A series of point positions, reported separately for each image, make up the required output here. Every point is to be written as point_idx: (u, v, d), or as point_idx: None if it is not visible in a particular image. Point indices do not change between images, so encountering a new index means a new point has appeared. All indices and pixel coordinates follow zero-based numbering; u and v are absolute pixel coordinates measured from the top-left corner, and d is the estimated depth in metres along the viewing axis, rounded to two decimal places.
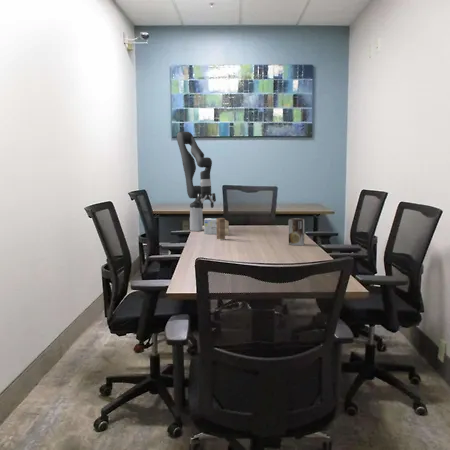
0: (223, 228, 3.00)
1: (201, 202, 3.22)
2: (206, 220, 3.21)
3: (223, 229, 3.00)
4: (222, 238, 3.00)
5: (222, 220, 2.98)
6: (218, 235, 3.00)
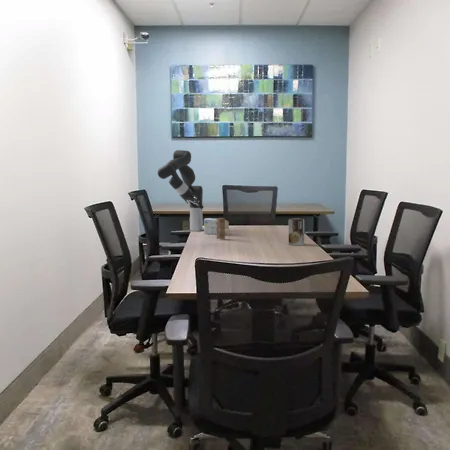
0: (223, 228, 3.00)
1: None
2: (206, 220, 3.21)
3: (223, 229, 3.00)
4: (222, 238, 3.00)
5: (222, 220, 2.98)
6: (218, 235, 3.00)
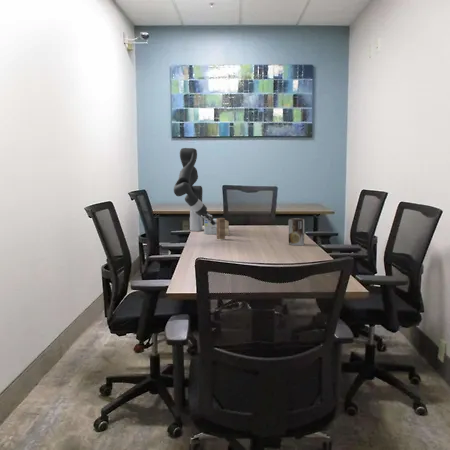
0: (223, 228, 3.00)
1: (207, 220, 2.96)
2: None
3: (223, 229, 3.00)
4: (222, 238, 3.00)
5: (222, 220, 2.98)
6: (218, 235, 3.00)
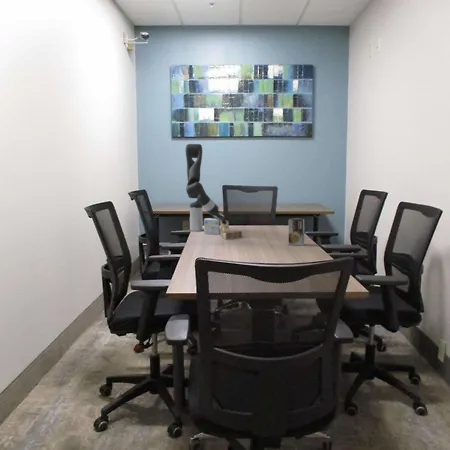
0: (234, 236, 3.06)
1: (219, 220, 3.01)
2: (206, 220, 3.21)
3: (233, 236, 3.05)
4: (226, 236, 3.02)
5: (240, 234, 3.09)
6: (226, 232, 3.04)
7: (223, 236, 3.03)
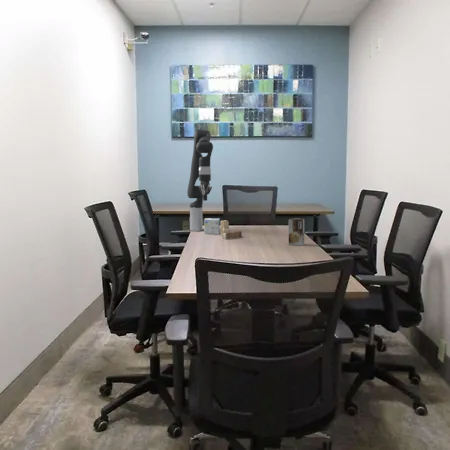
0: (234, 236, 3.06)
1: (202, 193, 2.93)
2: (206, 220, 3.21)
3: (233, 236, 3.05)
4: (226, 236, 3.02)
5: (240, 234, 3.09)
6: (226, 232, 3.04)
7: (223, 236, 3.03)
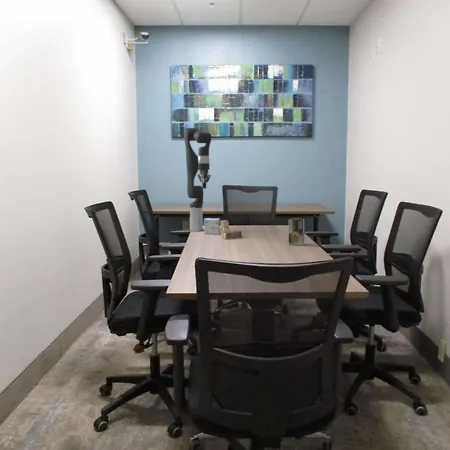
0: (234, 236, 3.06)
1: (201, 181, 3.08)
2: (206, 220, 3.21)
3: (233, 236, 3.05)
4: (226, 236, 3.02)
5: (240, 234, 3.09)
6: (226, 232, 3.04)
7: (223, 236, 3.03)
